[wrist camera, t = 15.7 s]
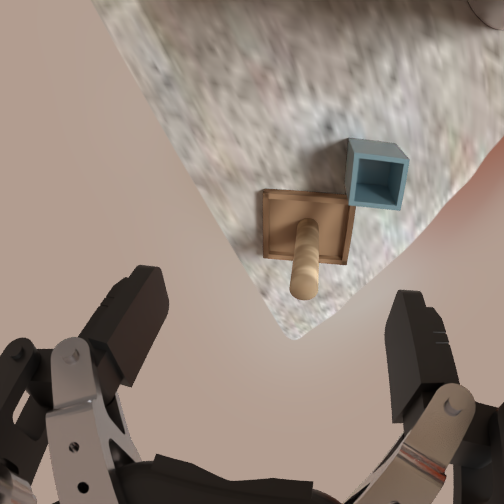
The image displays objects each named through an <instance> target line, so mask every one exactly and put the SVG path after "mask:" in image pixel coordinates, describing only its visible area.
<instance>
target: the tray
mask: <svg viewBox="0 0 504 504" xmlns="http://www.w3.org/2000/svg"><path fill="white" fill-rule="evenodd" d="M355 209H356V206H350V205H348V200H347V195H344V194H332V193H321V192H308V191H294V190H278V189H264V191H263V258H268V259H279V260H291V261H293V258H294V250H295V242H296V234H297V226H298V223H299V222H300V221H301V220H302V219H304V218H312V219H314V220H315V221H316V222H317V223H318V225H319V263H327V264H339V265H347V259H348V254H349V248H350V242H351V236H352V229H353V223H354V216H355Z"/></svg>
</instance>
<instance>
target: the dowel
mask: <svg viewBox="0 0 504 504" xmlns="http://www.w3.org/2000/svg"><path fill="white" fill-rule="evenodd" d="M318 271H319V225H318V223H317V222H316V221H315V220H314V219H312V218H304V219H302V220H301V221H300V222H299V223H298V226H297V234H296V242H295V250H294V258H293V266H292V274H291V281H290V293H291V295H292V296H293V297H295V298H297V299H299V300H309V299H312V298H314V297H315V296H316V295H317V293H318Z"/></svg>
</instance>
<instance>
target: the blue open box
mask: <svg viewBox="0 0 504 504" xmlns="http://www.w3.org/2000/svg"><path fill="white" fill-rule="evenodd" d="M408 166H409V158H408V157H407V156H406V155H405V154H404V152H403V151H402V150H401V149H400V148H399V147H398V145H397V144H395V143H388V142H381V141H373V140H364V139H355V138H348V149H347V160H346V171H345V181H344V184H345V189H346V194H347V200H348V205H350V206H361V207H371V208H380V209H390V210H399V211H400V210H401V205H402V200H403V195H404V189H405V184H406V178H407V172H408Z"/></svg>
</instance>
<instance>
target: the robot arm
mask: <svg viewBox="0 0 504 504" xmlns="http://www.w3.org/2000/svg"><path fill="white" fill-rule="evenodd" d="M468 3H469V5H470V6H471V8H472V10H473V11H474V13H475V14H476V15H477V16H478V17H479V18H480V19H481V20H482V21H483V22H484V23H485V24H487V25H489V26H490V27H492V28H495V29H498V30H504V0H468ZM168 310H169V299H168V295H167V291H166V287H165V283H164V279H163V275H162V271H161V269H160V268H159V267H154V266H145V265H138V266H137V267H136V268H135V269H134V271H133V272H132V274H131V275H130V276H129V278H127V277H125V278H123V279H122V280H121V281H119V282H118V283H117V284H115V285H114V286H113V287H112V289H111V290H110V291H109V293H108V294H107V296H106V298H104V300H103V302H102V303H101V305H100V306H99V307H98V308H97V310H96V311H95V313H94V314H93V315H92V317H91V318H90V320H89V322H88V323H87V324H86V326H85V327H84V329H83V330H82V332H81V333H80V335H79V336H78V337H71V338H67V339H65V340H63V341H61V342H60V343H59V344H57V346H56V347H55V348H54V349H36V348H35V346H34V345H33V343H32V342H31V341H30V340H29V339H27V338H18V339H16V340H14V341H12V342H11V343H10V344H9V345H8V346H7V347H6V348H5V350H4V351H3V353H2V354H1V356H0V504H37V499H36V497H35V495H33V494H32V489H31V484H32V482H33V479H34V476H35V474H36V472H37V469H38V466H39V464H40V462H41V459H42V457H43V454H44V452H45V450H46V447H47V445H48V444H49V451H50V457H51V463H52V469H53V474H54V479H55V484H56V489H57V493H58V498H59V501H57V502H55V503H53V504H431V503H432V502H433V500H434V499H435V497H436V496H437V494H438V493H439V491H440V490H441V488H442V486H443V485H444V482H445V480H446V475H445V474H444V473H445V470H446V468H447V466H448V464H453V470H454V497H453V504H504V402H503V404H502V405H501V406H500V407H499V408H497V407H493V406H489V405H485V404H481V403H478V402H475V400H474V398H473V396H472V394H471V393H470V391H469V390H468V389H466V388H465V387H463V386H462V385H460V383H459V379H458V375H457V370H456V366H455V363H454V359H453V355H452V351H451V348H450V345H449V344H448V343H449V341H448V337H447V334H446V330H445V327H444V324H443V321H442V318H441V317H440V316H439V315H438V313H437V312H436V311H435V309H434V308H433V307H426V305H425V302H424V298H423V295H422V293H421V292H420V291H411V290H398V292H397V294H396V297H395V300H394V302H393V305H392V308H391V311H390V314H389V317H388V320H387V322H386V327H385V346H386V354H387V363H388V373H389V383H390V393H391V408H392V423H403V425H404V432H403V433H402V434H401V436H400V437H399V438H398V440H397V441H396V443H395V444H394V445H393V446H392V448H391V449H390V450H389V452H388V453H387V454H386V456H385V457H384V458H383V460H382V461H381V462H380V463H379V464H378V465H377V467H376V468H375V469H374V470H373V472H372V473H371V474H370V475H369V476H368V477H367V478H366V479H365V481H364V482H362V483H361V485H360V486H359V487H358V488H357V489H356V490H355V491H354V492H353V493H352V494H351V495H350V496H349V497H348V498H347V499H346V500H345V502H343V503H340V502H339V501H338V500H336V499H335V498H333V497H331V496H330V495H328V494H326V493H323V492H321V491H318V490H315V489H312V488H313V482H312V481H297V480H286V479H277V478H269V479H257V480H244V481H229V480H226V479H223V478H221V477H219V476H217V475H215V474H213V473H210V472H208V471H206V470H204V469H202V468H200V467H198V466H196V465H194V464H192V463H188V462H184V461H181V460H177V459H173V458H170V457H166V456H162V455H159V454H156V456H155V459H154V461H142V460H141V458H140V455H139V453H138V452H137V449H136V447H135V446H134V444H133V442H132V440H131V437H130V434H129V432H128V428H127V424H126V421H125V418H124V414H123V411H122V407H121V403H120V399H119V395H118V393H117V389H118V387H119V385H120V384H122V385H125V386H128V387H132V385H133V383H134V381H135V379H136V377H137V375H138V373H139V371H140V369H141V367H142V365H143V363H144V361H145V358H146V356H147V354H148V352H149V350H150V348H151V346H152V344H153V342H154V340H155V338H156V336H157V334H158V332H159V330H160V328H161V326H162V324H163V322H164V320H165V319H166V316H167V314H168ZM25 390H26V391H27V392H28V394H29V395H30V396H29V398H28V400H27V402H26V404H25V406H24V408H23V410H22V412H21V414H20V416H19V418H18V420H17V422H16V424H14V423H13V418H12V417H13V412H14V410H15V408H16V406H17V404H18V402H19V400H20V398H21V397H22V395H23V393H24V391H25Z"/></svg>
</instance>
